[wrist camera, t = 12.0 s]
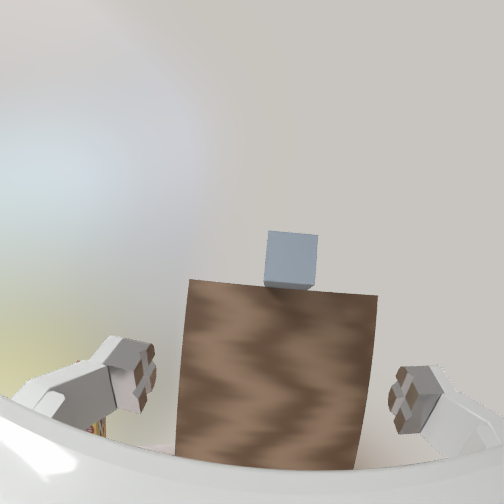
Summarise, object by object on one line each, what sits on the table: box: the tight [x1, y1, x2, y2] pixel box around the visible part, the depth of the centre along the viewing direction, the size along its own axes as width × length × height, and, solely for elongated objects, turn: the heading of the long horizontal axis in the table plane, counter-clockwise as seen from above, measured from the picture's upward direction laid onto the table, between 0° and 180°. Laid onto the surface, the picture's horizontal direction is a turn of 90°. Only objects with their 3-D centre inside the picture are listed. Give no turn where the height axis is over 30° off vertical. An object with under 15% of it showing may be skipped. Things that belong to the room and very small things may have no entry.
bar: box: [264, 231, 318, 290], centre depth 32 cm, size 3×26×3 cm, turn 177°
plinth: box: [175, 279, 378, 471], centre depth 28 cm, size 14×14×26 cm
